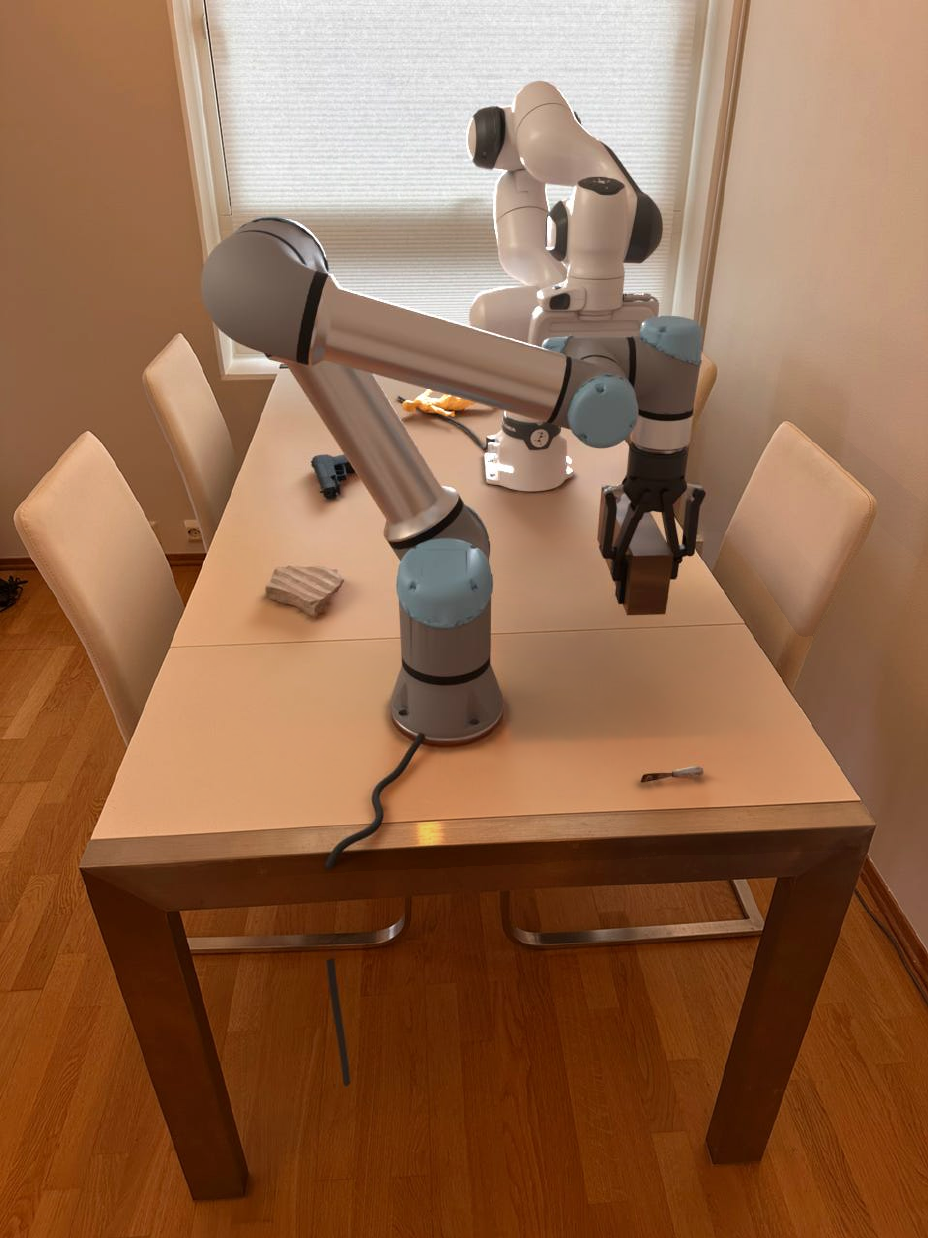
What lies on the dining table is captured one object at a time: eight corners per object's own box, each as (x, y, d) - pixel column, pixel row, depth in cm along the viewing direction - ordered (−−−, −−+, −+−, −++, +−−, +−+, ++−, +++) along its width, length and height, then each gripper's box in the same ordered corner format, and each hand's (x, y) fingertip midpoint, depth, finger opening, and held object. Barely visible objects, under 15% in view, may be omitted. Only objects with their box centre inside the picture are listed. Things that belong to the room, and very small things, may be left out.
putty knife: (703, 777, 109) (705, 767, 109) (642, 788, 108) (644, 777, 107) (700, 772, 110) (702, 762, 109) (639, 782, 109) (640, 771, 108)
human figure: (395, 413, 223) (394, 398, 221) (438, 390, 237) (438, 375, 235) (462, 429, 215) (462, 413, 213) (502, 404, 229) (503, 388, 227)
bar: (665, 614, 124) (673, 554, 119) (627, 615, 124) (633, 556, 119) (630, 538, 144) (636, 484, 139) (597, 539, 144) (601, 485, 139)
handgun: (379, 494, 182) (320, 501, 179) (364, 462, 196) (309, 468, 193) (378, 480, 180) (319, 487, 178) (363, 448, 194) (308, 454, 192)
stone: (354, 583, 150) (352, 570, 149) (317, 618, 141) (316, 605, 140) (288, 570, 155) (286, 557, 153) (249, 603, 145) (246, 590, 144)
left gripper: (721, 431, 118) (697, 583, 131) (583, 434, 117) (572, 587, 130) (739, 452, 112) (712, 610, 124) (593, 455, 111) (580, 614, 123)
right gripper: (655, 289, 142) (647, 376, 149) (527, 291, 141) (525, 378, 148) (665, 296, 136) (656, 386, 143) (532, 299, 136) (529, 389, 143)
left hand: (640, 598), depth 127 cm, fingers closed on bar, 5 cm apart
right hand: (588, 382), depth 146 cm, fingers open, 8 cm apart
